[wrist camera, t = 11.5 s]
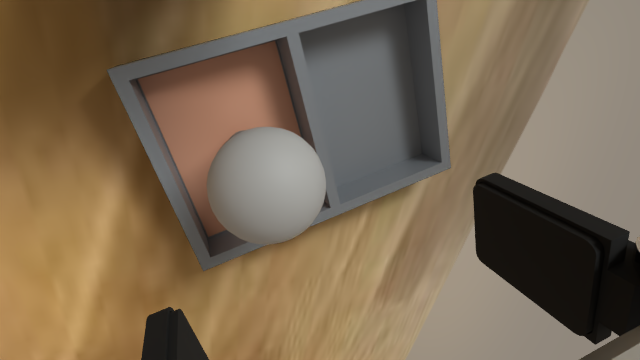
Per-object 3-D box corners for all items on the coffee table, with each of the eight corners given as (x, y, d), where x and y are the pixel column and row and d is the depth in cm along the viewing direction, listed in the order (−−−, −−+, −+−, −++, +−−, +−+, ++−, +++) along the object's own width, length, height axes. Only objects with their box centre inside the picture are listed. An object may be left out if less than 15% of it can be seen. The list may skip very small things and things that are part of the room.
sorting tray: (405, -12, 27) (435, -19, 24) (425, 156, 33) (450, 167, 30) (116, 66, 22) (106, 69, 19) (200, 246, 28) (203, 271, 25)
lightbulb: (287, 104, 26) (353, 145, 16) (281, 183, 28) (336, 261, 18) (198, 98, 24) (213, 143, 14) (198, 185, 26) (211, 275, 16)
